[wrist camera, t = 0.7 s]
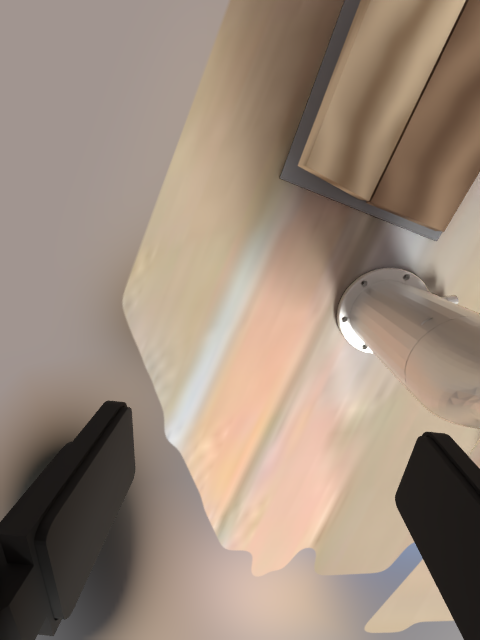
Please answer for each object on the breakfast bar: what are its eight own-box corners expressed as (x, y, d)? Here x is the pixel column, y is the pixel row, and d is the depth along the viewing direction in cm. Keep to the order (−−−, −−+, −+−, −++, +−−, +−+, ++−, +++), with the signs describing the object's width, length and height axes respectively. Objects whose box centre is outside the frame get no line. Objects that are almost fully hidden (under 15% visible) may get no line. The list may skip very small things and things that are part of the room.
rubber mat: (556, 35, 28) (560, 32, 28) (435, 240, 36) (437, 241, 35) (366, -60, 27) (368, -64, 26) (279, 178, 34) (279, 177, 34)
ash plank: (456, -7, 27) (473, -16, 26) (359, 199, 34) (368, 200, 33) (396, -95, 22) (413, -111, 21) (297, 165, 29) (306, 165, 28)
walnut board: (546, 41, 28) (563, 31, 27) (435, 231, 35) (443, 231, 34) (462, -1, 27) (475, -14, 26) (365, 202, 34) (370, 201, 33)
